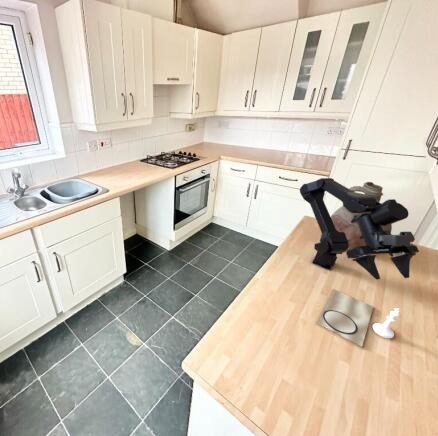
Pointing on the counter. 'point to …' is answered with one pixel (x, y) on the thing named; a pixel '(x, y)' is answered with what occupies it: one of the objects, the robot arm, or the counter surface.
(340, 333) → the grey plate with ring
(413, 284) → the counter surface
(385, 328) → the chess piece
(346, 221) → the jug
